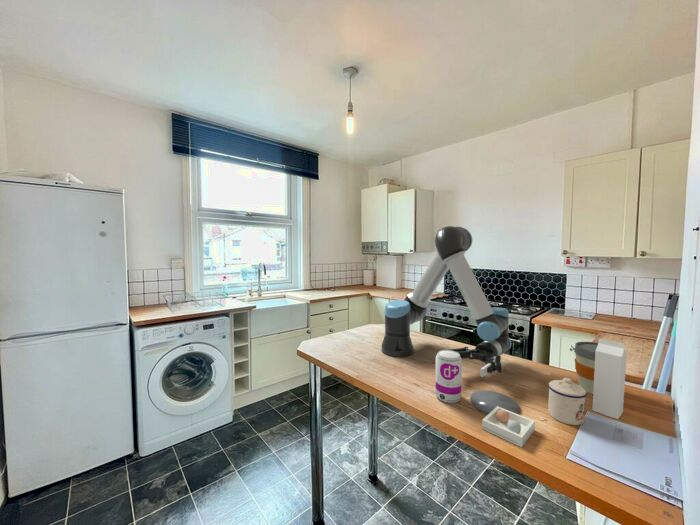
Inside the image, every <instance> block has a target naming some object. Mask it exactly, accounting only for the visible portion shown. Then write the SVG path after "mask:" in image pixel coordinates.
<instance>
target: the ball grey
mask: <svg viewBox="0 0 700 525" xmlns="http://www.w3.org/2000/svg"><path fill="white" fill-rule="evenodd" d="M508 429H509V430H510V431H512V432H515V433H517V434H518V433H520V431H521V426H520V424H519V423H518V422H517V421H515V420H511V421H509V422H508Z"/></svg>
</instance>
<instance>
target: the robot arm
mask: <svg viewBox="0 0 700 525" xmlns="http://www.w3.org/2000/svg"><path fill="white" fill-rule="evenodd" d="M435 234H436V235H435V236H434V237H435V238H434V244H435V250H436V254H435V255H434V256H433V258H432V260H431V261H430V263H429V265H428V266H427V268H426V269H425V271H424V273H423V275H422V277H421V278H420V279H419V281H418V282H417V285H416V286H415V288H414V289H413V291H410V292H408V293H407V295H406V296H405V298H404V300H403V299H395V300H391V301H388V302H387V303H386V304H385V308H384V337H383V340H382V344H381V352H382V353H383V354H385V355H387V356H390V357H397V358H398V357H400V358H402V357H407V356H411V355H412V354H414V352H415V351H414V349H415V348H414V345H413V340H412V338H411V325H413V324H415V323H418V322H420V321H421V320H423V318H425V316H426V315H427V311H428V310H427V309H428V307H429V305H430V304H429V301H430V299H431V298H432V295H433V294H434V293H435V291H436V290H437V288H438V287H439V285H440V283H441V282H442V280H443V279H444V277H445V276H446V275H447V272H448V271H449V272H450V273H451V275H452V278H453V279H454V281H455V283H456V285H457V287H458V289H459V291H460V293H461V295H462V297H463V300H464V301H465V303H466V305H467V307H468V310H469V312H470V313H471V316H472V317H473V319H474V322H475V323H476V325H477V328H476V332H477V335H478V336H479V338H480V339H481V340H483V341H482V342H480V343H478V344H477V345H476V346H475V348H473V349H469V346H463V347H458V348H450V349H449V350H452V351H455V352H458V353H459V354H460V357H461V359H468V360H475V361H480V362H482V363H484V364H485V365H484V366H482V367H481V368H480V373H479V374H480V375H479V376H480V377H481V378H484V377H485V376H486V375H488V374H492V373H494V372H495V373H496V372H497V373H499V374H500V373H502V367H503V366H502V361H501V359H502V357H501V356H502V355H504V354H505V353H507V352H508V351H509V350H510V349H511V347H512V341H511V338H510V337H509V326H510V325H509V323H510V322H509V321H510V316H509V314H510V313H509V310H508V309H507V308H504V307H498V306H497V307H495V306H494V307H492V306H491V304H490V303H489V301H488V299H487V297H486V295H485V293H484V291H483V289H482V287H481V286H480V284H479V281H478V279H477V278H476V275H475V273H474V271H473V270H472V268H471V266H470V264H469V263H468V260H467V258H466V256H465V254H466V252H467V251H468V250H469V249H470V248H471V247H472V245H473V235H472V233H471V232H470V230H468V229H467V228H465V227H462V226H450V225H448V226H444V227H442V228H441V229H439V230H438V231H437V233H435Z"/></svg>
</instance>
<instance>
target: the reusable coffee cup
mask: <svg viewBox="0 0 700 525" xmlns="http://www.w3.org/2000/svg"><path fill="white" fill-rule="evenodd" d="M598 343H599V342H595V341H577V342H576V343H575V345H574V349H573V350H574V354H575V358H574V364H575V366H574V367H575V373H576V374H577V377H578V378H577V379H578V385H579V386H581V387H582V388H584V389H585V391H586V393H588V392H589V393H588V394H592V395H593V390H594V371H595V352H596V348H597V346H598Z"/></svg>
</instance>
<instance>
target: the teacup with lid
mask: <svg viewBox="0 0 700 525" xmlns="http://www.w3.org/2000/svg"><path fill="white" fill-rule="evenodd" d="M547 386H548V407H547V408H548V410H547V412H548V414H549V415H550V416H551V417H552V418H553V419H555V420H556V421H558V422H560V423H563V424H566V425H570V426H580V425H583V424H584V423H585V416H586V414H585V412H586V397H587V395H588V394H587V393H588V392H586V391H585V389H584V388H582V387H581V386H579V384H577V383H574V382H573V380H572V379H571V378H569V377H563V379H553V380H550V381H549V383H548V385H547Z"/></svg>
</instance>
